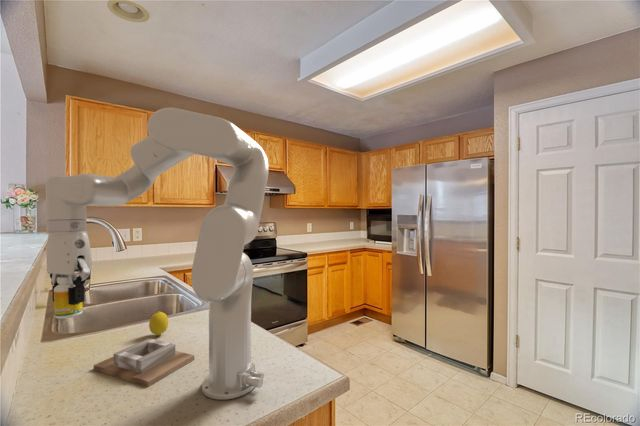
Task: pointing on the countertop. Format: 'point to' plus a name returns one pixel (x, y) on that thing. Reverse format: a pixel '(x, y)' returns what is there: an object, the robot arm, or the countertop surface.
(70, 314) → the supplement bottle
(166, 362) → the dock board
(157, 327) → the lemon
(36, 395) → the countertop surface
